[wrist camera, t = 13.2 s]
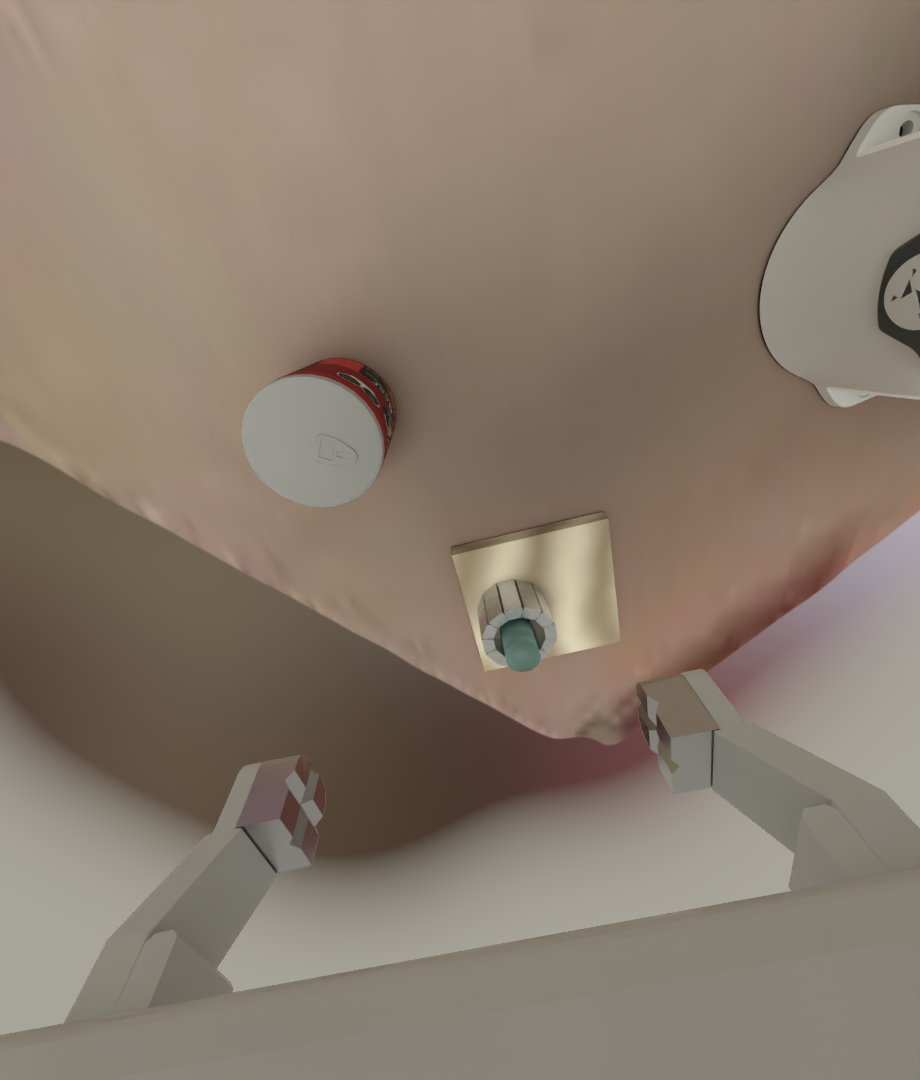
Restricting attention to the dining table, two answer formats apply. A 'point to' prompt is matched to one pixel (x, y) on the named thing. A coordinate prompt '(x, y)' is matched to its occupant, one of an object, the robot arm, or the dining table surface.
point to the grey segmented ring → (514, 616)
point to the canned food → (320, 432)
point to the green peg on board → (546, 585)
